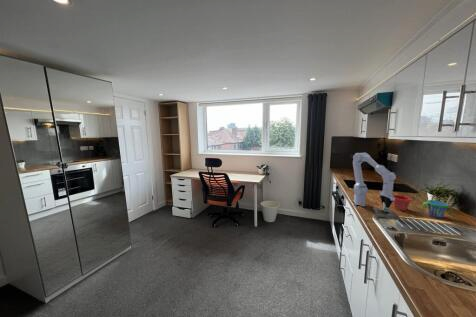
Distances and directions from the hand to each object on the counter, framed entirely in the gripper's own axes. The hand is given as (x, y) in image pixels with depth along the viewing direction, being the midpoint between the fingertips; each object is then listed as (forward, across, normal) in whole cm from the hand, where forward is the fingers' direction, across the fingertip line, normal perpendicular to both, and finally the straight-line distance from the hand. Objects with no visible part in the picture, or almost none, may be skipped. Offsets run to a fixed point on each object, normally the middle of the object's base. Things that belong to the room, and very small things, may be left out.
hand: (385, 206), depth 136 cm
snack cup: (+7, -3, +35) cm, 35 cm away
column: (+4, 0, 0) cm, 4 cm away
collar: (+6, 0, 0) cm, 6 cm away
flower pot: (+7, -13, +18) cm, 23 cm away
